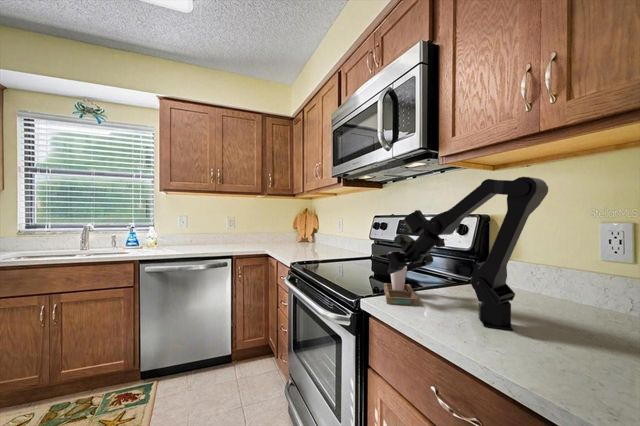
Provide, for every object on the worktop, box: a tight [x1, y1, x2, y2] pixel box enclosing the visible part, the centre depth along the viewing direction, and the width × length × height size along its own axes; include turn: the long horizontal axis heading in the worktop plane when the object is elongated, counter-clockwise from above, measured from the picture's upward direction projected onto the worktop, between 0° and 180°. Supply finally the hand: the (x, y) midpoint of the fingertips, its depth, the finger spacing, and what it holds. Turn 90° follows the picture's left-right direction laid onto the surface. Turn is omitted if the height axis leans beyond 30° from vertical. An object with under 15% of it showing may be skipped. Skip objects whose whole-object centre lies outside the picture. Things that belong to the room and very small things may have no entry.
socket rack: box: [383, 282, 419, 307], centre depth 98 cm, size 18×10×2 cm, turn 170°
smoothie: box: [390, 265, 407, 290], centre depth 102 cm, size 6×6×14 cm
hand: (397, 271), depth 102 cm, fingers open, 9 cm apart
